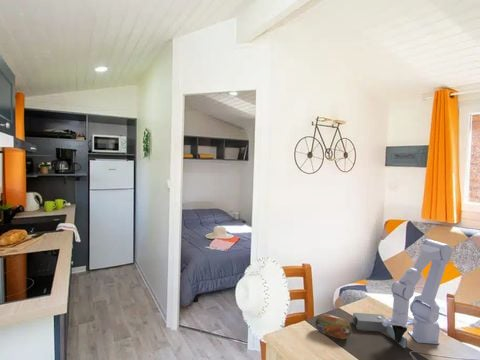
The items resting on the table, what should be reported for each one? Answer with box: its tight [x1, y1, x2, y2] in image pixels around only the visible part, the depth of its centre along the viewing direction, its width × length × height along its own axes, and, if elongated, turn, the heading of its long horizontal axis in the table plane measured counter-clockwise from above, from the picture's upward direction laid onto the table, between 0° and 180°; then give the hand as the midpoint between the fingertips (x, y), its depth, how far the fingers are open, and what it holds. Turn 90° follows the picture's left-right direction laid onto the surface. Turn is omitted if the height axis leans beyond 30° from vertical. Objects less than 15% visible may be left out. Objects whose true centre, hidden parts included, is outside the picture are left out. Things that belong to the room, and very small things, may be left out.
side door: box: [385, 325, 408, 349], centre depth 127 cm, size 11×1×4 cm, turn 10°
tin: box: [315, 313, 352, 340], centre depth 128 cm, size 15×3×8 cm, turn 62°
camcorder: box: [351, 312, 387, 333], centre depth 136 cm, size 15×7×5 cm, turn 88°
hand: (397, 341), depth 124 cm, fingers closed
